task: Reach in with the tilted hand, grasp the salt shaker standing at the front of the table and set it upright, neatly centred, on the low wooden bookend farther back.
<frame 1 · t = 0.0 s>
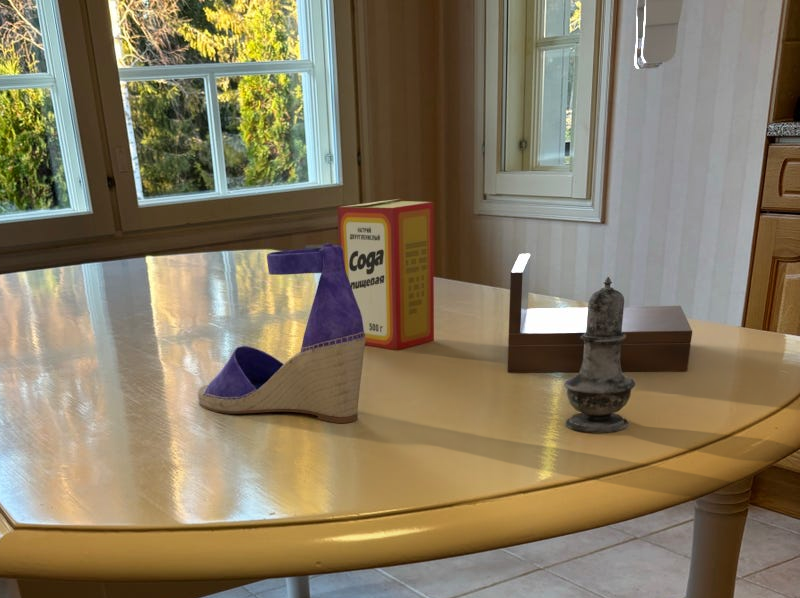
hand: (652, 66, 58), 26 cm above the table, tool pointing down, fingers open, 8 cm apart
salt shaker: (596, 426, 80), on the table
sandal: (278, 412, 91), on the table
wooden bookend: (594, 356, 102), on the table
baking soda box: (388, 342, 117), on the table
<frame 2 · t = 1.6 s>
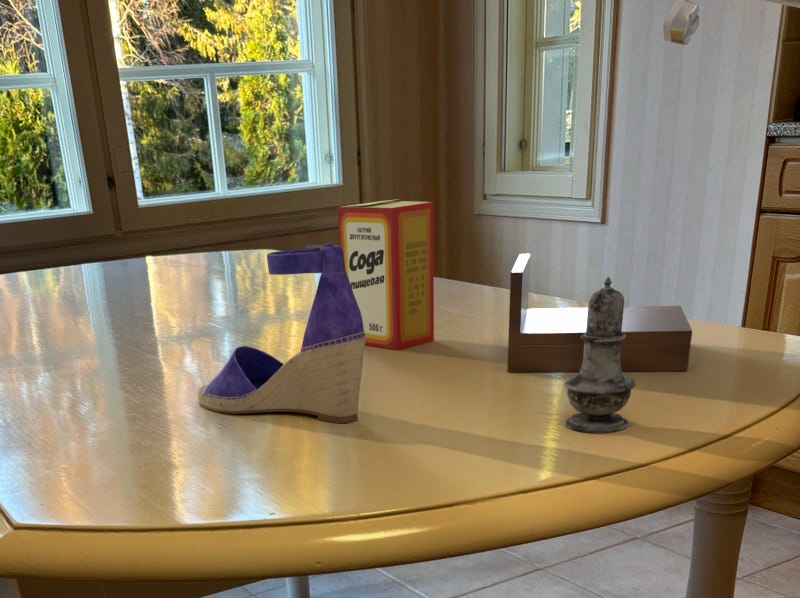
hand: (742, 51, 58), 26 cm above the table, tool tilted 40°, fingers open, 8 cm apart
nothing on the table moved.
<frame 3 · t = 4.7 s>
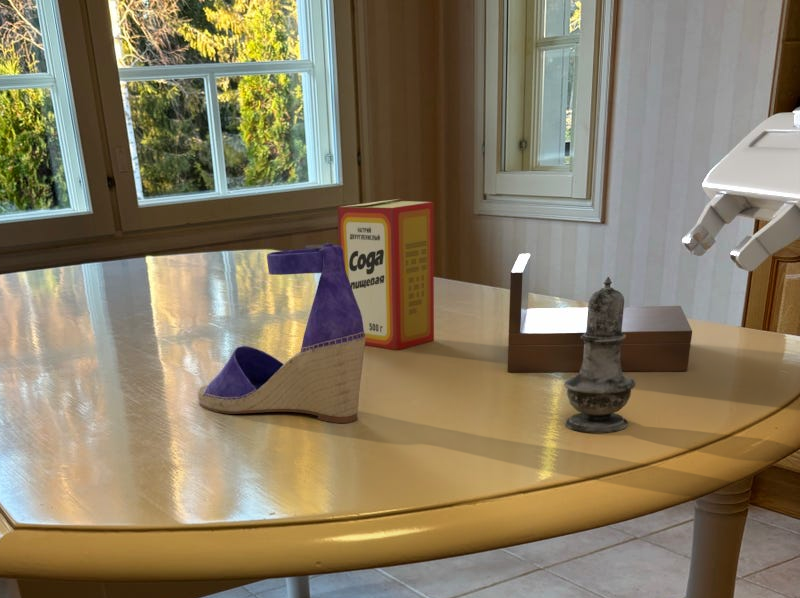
hand: (712, 257, 73), 13 cm above the table, tool tilted 45°, fingers open, 8 cm apart
nothing on the table moved.
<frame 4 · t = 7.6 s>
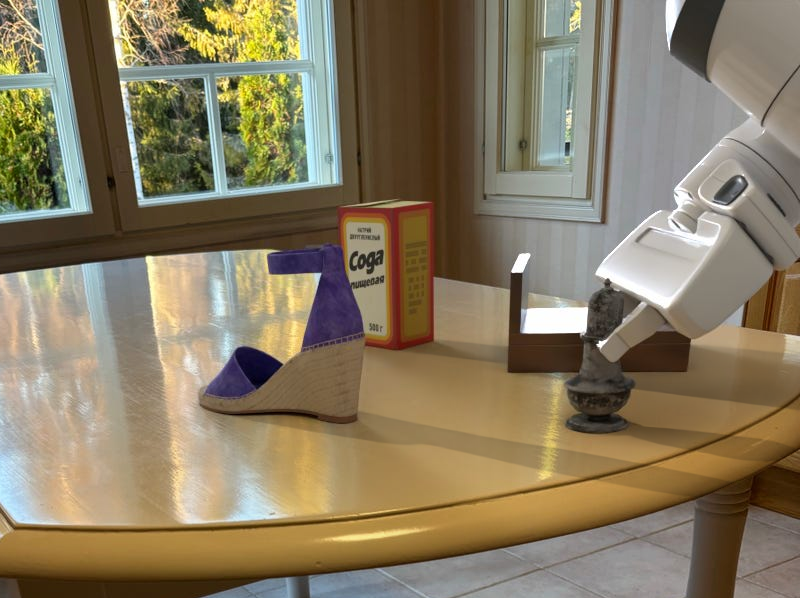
hand: (594, 349, 77), 6 cm above the table, tool tilted 45°, fingers closed on salt shaker, 3 cm apart
salt shaker: (595, 426, 80), on the table, touching gripper
everything else where it was.
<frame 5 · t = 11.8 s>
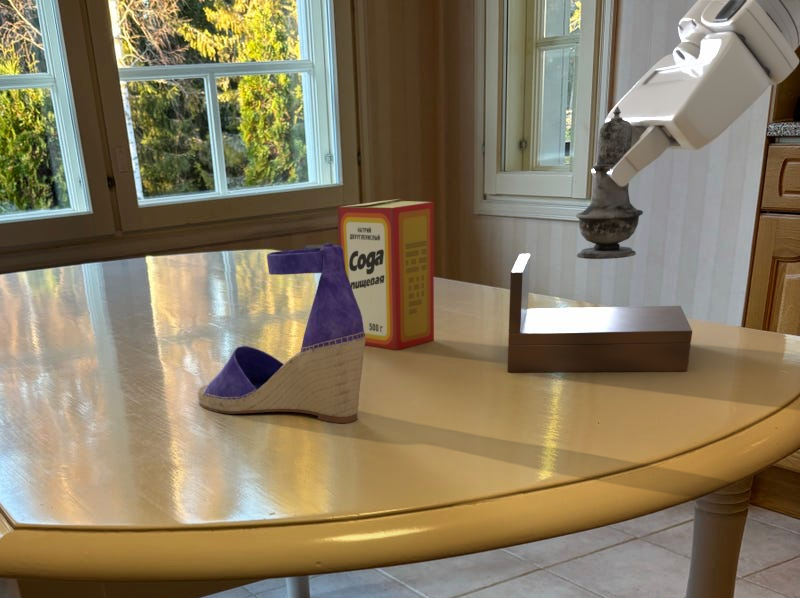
hand: (605, 180, 83), 18 cm above the table, tool tilted 45°, fingers closed on salt shaker, 3 cm apart
salt shaker: (605, 257, 86), point 12 cm above the table, touching gripper
everything else where it was.
when the fingers open (10 cm above the table, at t = 16.0 s): salt shaker stays where it is, resting on wooden bookend.
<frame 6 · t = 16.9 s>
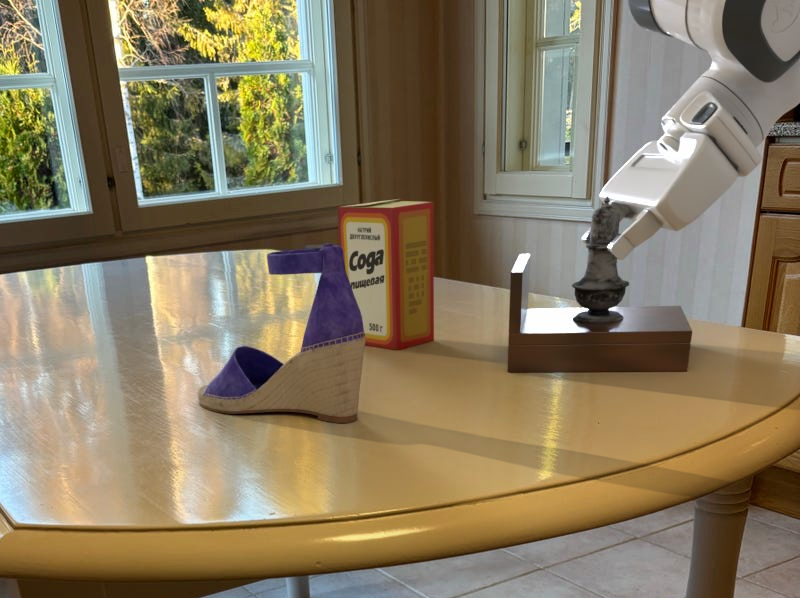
hand: (599, 250, 97), 11 cm above the table, tool tilted 45°, fingers open, 8 cm apart
salt shaker: (597, 320, 101), point 4 cm above the table, touching wooden bookend
everything else where it was.
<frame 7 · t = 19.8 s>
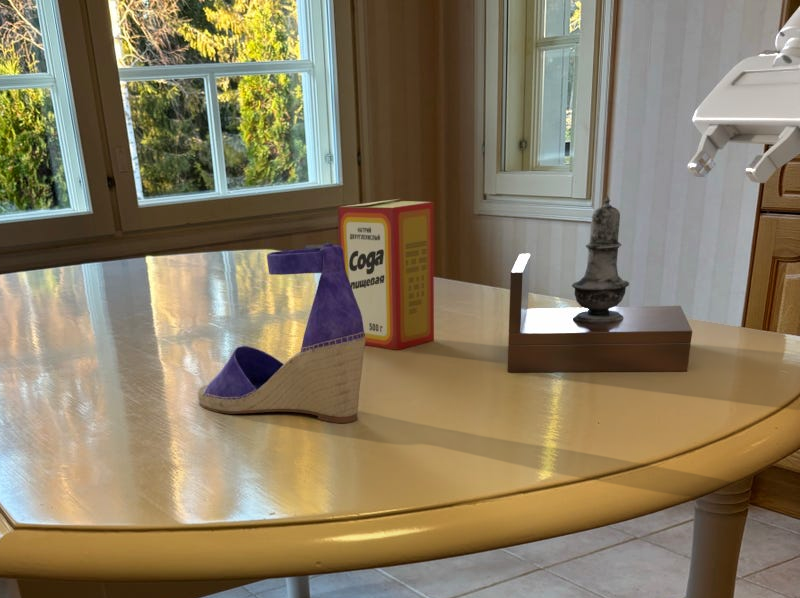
hand: (722, 175, 91), 17 cm above the table, tool tilted 40°, fingers open, 8 cm apart
nothing on the table moved.
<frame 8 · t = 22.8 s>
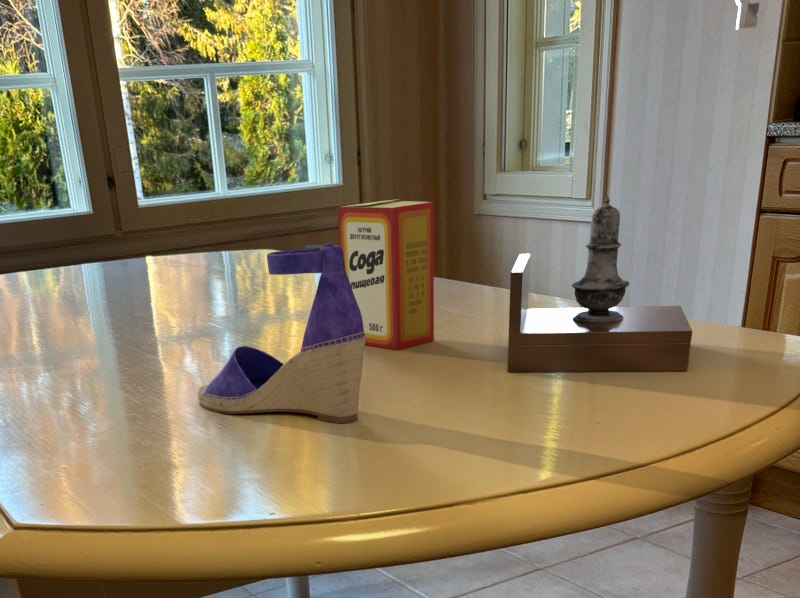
nothing on the table moved.
at the end: salt shaker inside the target area on the wooden bookend (0.3 cm from its centre), point 3.8 cm above the wooden bookend's base; salt shaker tilted 0°; the gripper is holding nothing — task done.
